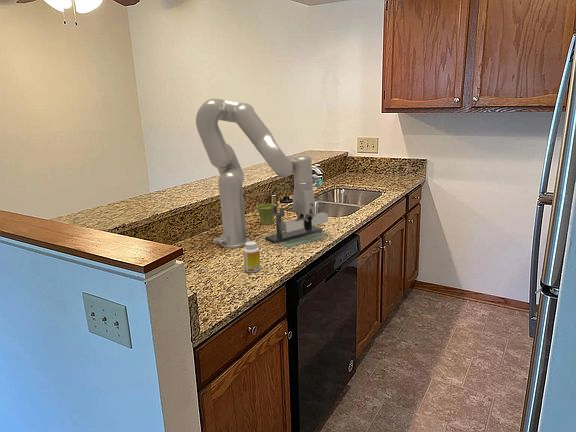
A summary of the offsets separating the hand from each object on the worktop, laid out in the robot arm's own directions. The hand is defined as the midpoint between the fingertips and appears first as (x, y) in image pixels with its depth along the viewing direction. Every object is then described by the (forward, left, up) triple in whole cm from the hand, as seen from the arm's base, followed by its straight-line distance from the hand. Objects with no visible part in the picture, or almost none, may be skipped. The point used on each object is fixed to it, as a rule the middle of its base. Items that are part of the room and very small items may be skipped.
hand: (305, 228), depth 187 cm
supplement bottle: (-35, -14, -6) cm, 38 cm away
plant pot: (+2, +34, -6) cm, 34 cm away
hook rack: (0, +8, -5) cm, 10 cm away
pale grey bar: (0, 0, +1) cm, 1 cm away
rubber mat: (-1, 0, -5) cm, 5 cm away
